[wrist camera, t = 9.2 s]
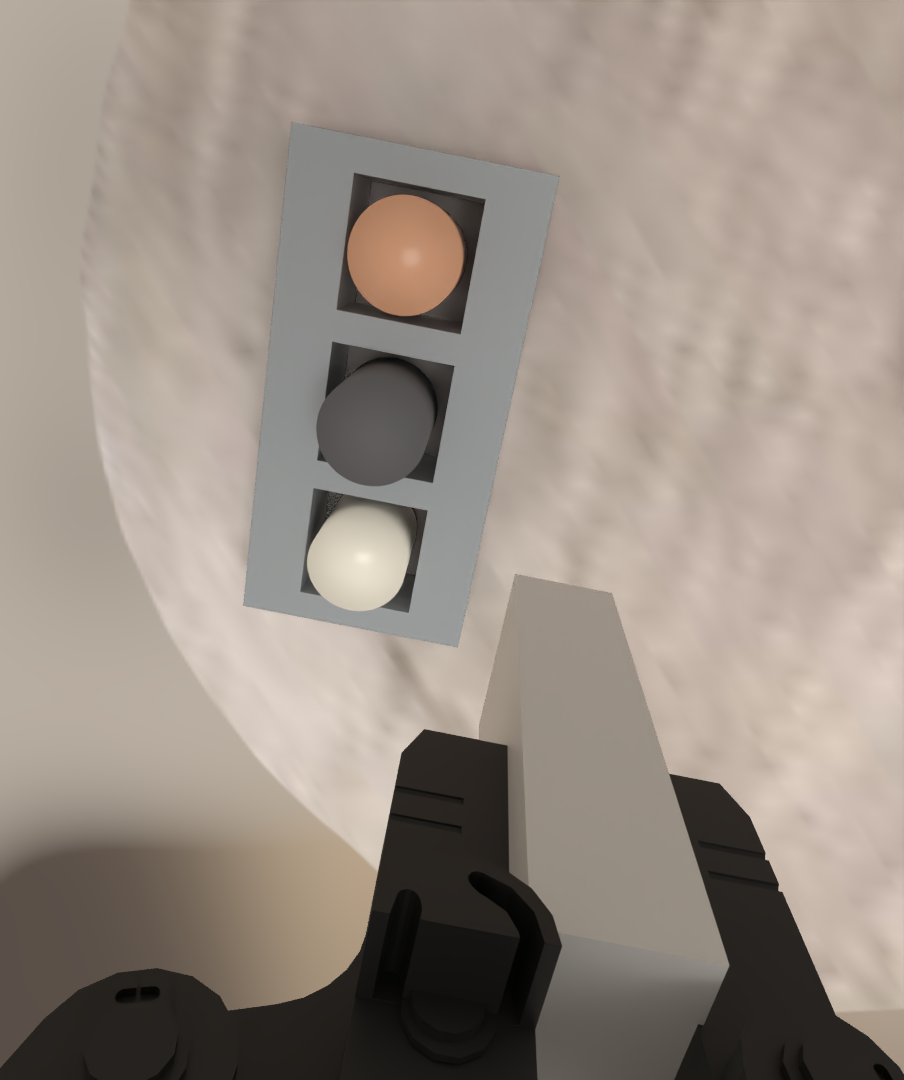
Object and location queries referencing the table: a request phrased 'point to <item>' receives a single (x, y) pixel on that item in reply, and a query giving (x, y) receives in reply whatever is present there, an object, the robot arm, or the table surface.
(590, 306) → the table surface
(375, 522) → the button ivory
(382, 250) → the button terracotta
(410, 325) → the panel
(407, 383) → the button black
